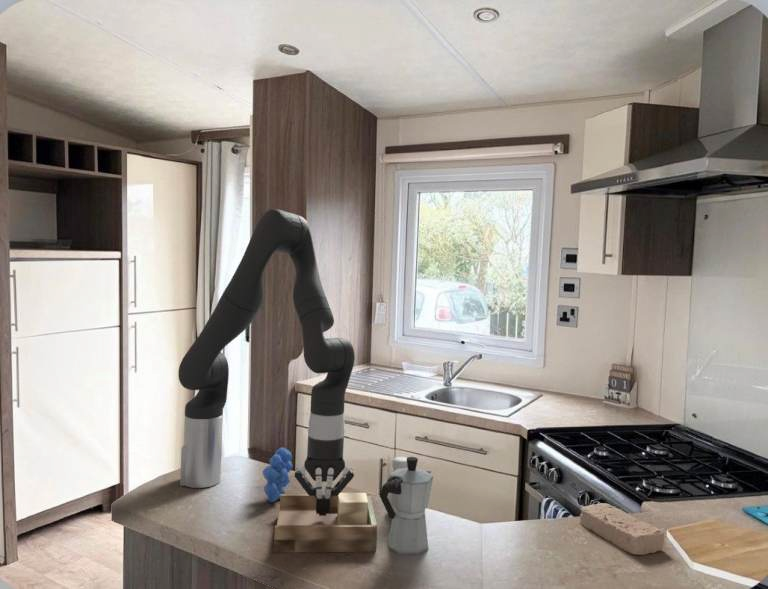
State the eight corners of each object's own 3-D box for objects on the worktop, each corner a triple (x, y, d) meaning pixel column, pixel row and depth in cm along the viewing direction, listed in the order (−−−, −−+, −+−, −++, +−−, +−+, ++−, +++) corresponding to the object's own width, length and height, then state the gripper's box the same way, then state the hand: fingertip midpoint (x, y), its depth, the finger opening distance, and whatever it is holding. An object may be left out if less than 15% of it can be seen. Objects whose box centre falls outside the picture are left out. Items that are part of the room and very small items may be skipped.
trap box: (273, 552, 108) (274, 527, 108) (279, 516, 124) (280, 494, 124) (376, 551, 111) (377, 526, 110) (368, 515, 127) (370, 494, 126)
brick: (577, 524, 128) (578, 504, 128) (604, 519, 132) (606, 499, 131) (635, 560, 113) (637, 537, 113) (664, 553, 116) (666, 531, 116)
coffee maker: (413, 527, 122) (417, 446, 121) (444, 543, 115) (449, 457, 115) (362, 549, 111) (366, 460, 110) (394, 567, 105) (398, 473, 104)
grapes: (272, 487, 140) (274, 440, 140) (297, 491, 139) (299, 443, 138) (249, 505, 129) (251, 454, 129) (276, 509, 127) (278, 458, 127)
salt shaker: (381, 515, 127) (384, 459, 127) (393, 506, 132) (395, 452, 132) (404, 521, 124) (407, 464, 124) (415, 512, 130) (418, 457, 129)
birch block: (337, 526, 115) (338, 502, 115) (337, 515, 120) (338, 492, 120) (366, 526, 116) (367, 502, 116) (364, 515, 121) (366, 492, 121)
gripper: (356, 428, 121) (352, 506, 122) (295, 427, 120) (291, 506, 120) (359, 439, 114) (354, 522, 115) (293, 438, 112) (289, 522, 113)
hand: (322, 514), depth 117 cm, fingers closed
